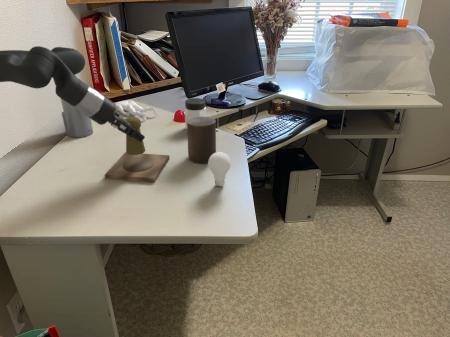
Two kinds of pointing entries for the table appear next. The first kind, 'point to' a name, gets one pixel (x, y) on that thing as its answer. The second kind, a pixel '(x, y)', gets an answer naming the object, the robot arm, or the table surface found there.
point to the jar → (194, 108)
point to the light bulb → (219, 167)
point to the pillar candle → (201, 138)
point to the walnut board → (138, 167)
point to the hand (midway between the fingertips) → (139, 136)
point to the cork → (131, 143)
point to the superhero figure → (133, 109)
